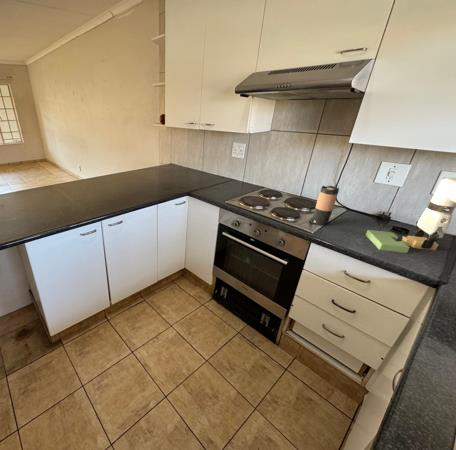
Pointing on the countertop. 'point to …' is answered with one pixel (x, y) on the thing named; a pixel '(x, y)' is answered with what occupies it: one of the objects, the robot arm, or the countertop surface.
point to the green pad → (387, 241)
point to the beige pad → (417, 242)
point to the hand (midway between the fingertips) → (420, 243)
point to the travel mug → (325, 204)
